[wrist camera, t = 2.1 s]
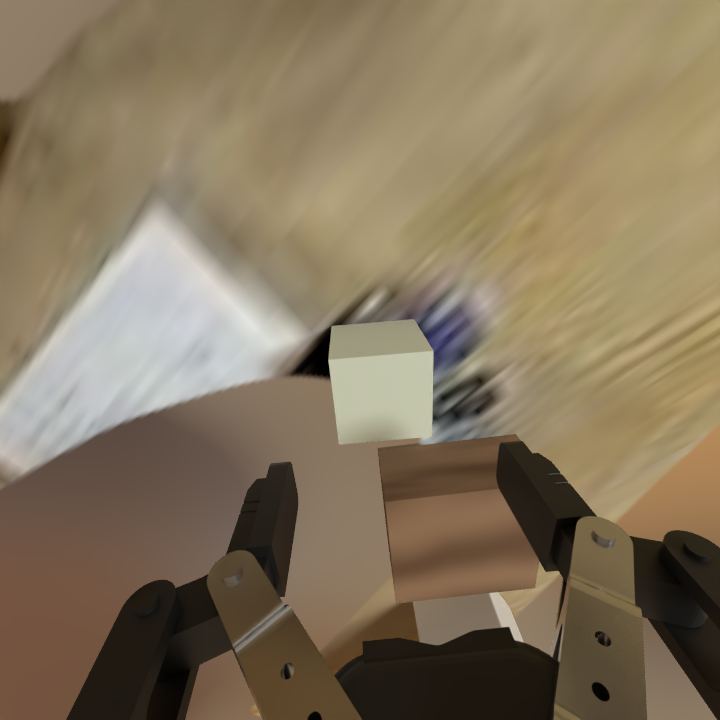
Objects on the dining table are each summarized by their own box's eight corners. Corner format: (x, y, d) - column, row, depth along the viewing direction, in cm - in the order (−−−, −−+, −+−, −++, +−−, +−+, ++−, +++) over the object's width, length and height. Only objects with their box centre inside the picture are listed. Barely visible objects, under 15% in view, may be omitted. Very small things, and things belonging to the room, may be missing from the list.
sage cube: (331, 325, 21) (328, 360, 16) (413, 318, 21) (433, 350, 16) (339, 396, 23) (338, 444, 18) (414, 390, 23) (431, 436, 18)
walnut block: (377, 447, 25) (384, 502, 20) (514, 431, 25) (552, 482, 20) (388, 541, 29) (396, 603, 25) (505, 527, 29) (534, 587, 25)
